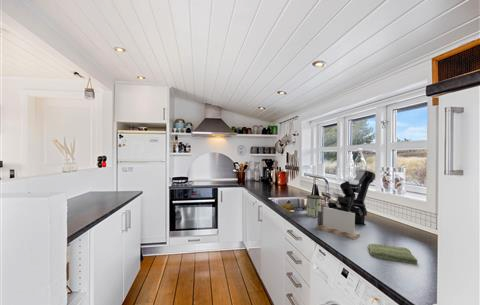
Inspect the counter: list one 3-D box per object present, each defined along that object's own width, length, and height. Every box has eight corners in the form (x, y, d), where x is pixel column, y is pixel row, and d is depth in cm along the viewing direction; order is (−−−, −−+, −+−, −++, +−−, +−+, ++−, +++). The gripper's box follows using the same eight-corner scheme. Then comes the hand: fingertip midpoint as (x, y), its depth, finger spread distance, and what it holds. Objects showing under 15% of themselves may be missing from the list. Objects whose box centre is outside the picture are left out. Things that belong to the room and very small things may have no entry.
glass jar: (308, 212, 174) (308, 194, 174) (322, 214, 169) (322, 196, 169) (304, 215, 165) (305, 196, 165) (318, 217, 160) (319, 198, 160)
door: (354, 233, 125) (355, 213, 125) (353, 234, 124) (354, 213, 124) (321, 224, 139) (322, 206, 139) (320, 225, 138) (321, 206, 138)
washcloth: (366, 247, 112) (366, 240, 112) (409, 254, 106) (409, 247, 106) (370, 257, 100) (370, 250, 100) (419, 266, 93) (419, 259, 93)
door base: (359, 236, 126) (360, 218, 126) (353, 239, 120) (354, 221, 120) (321, 225, 143) (322, 209, 143) (314, 227, 138) (315, 211, 138)
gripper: (329, 189, 142) (320, 208, 135) (360, 193, 128) (351, 216, 121) (335, 200, 147) (326, 219, 140) (365, 205, 133) (357, 227, 126)
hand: (339, 220), depth 132 cm, fingers closed
